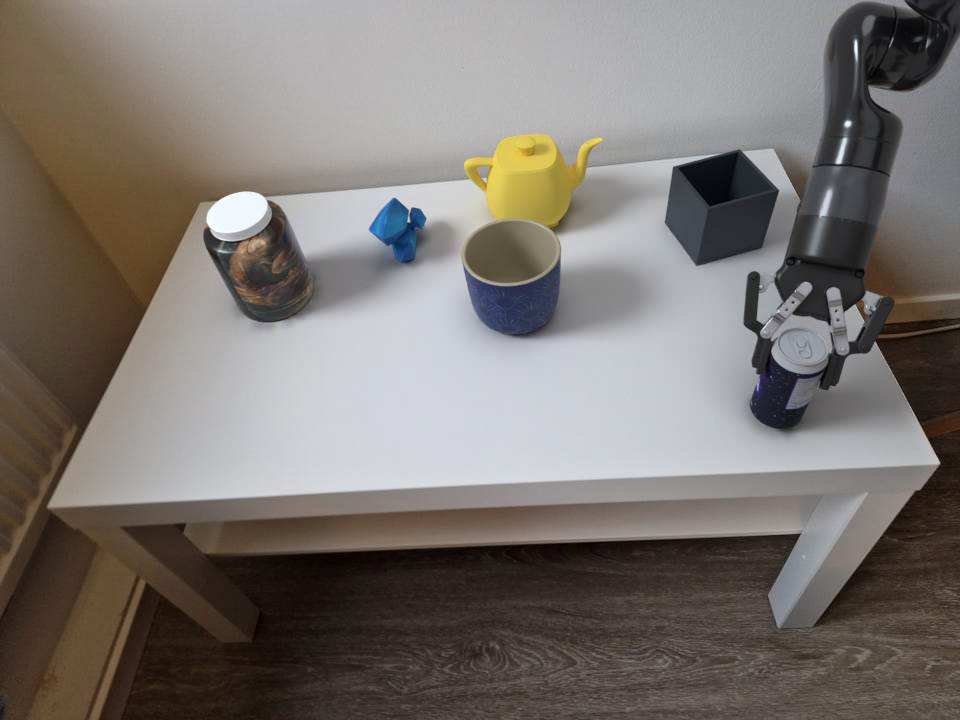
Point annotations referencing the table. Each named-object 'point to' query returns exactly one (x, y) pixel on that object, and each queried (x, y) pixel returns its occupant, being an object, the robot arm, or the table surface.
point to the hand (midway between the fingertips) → (791, 381)
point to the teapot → (530, 178)
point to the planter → (513, 274)
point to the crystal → (398, 228)
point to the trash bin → (720, 206)
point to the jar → (258, 256)
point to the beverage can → (789, 378)
